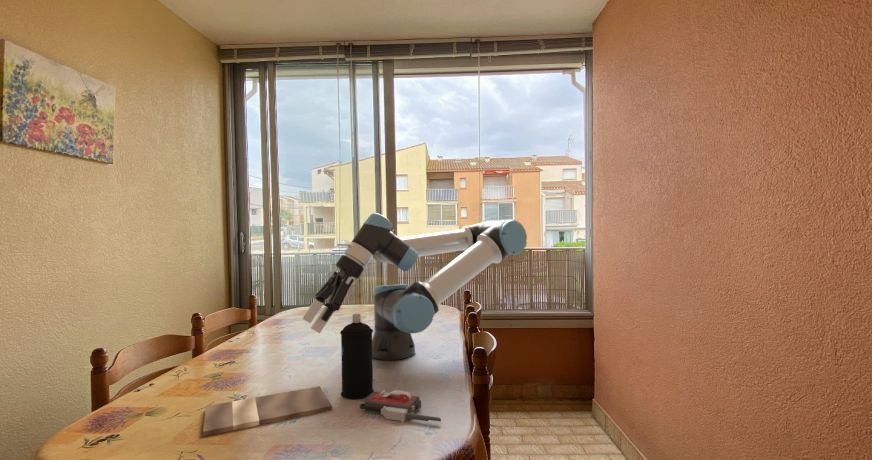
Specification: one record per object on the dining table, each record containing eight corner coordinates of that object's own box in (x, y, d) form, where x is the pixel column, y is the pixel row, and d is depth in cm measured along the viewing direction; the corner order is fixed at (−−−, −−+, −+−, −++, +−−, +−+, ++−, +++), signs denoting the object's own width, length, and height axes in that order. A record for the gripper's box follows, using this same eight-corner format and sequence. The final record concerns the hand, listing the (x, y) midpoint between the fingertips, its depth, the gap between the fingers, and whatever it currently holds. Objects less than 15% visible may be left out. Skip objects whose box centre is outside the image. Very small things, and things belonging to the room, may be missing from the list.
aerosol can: (380, 390, 108) (379, 312, 108) (361, 402, 101) (360, 318, 101) (353, 385, 112) (352, 310, 112) (334, 396, 104) (332, 316, 104)
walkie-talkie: (354, 416, 94) (439, 429, 87) (353, 397, 94) (438, 407, 87) (372, 401, 102) (451, 411, 96) (372, 383, 102) (451, 392, 96)
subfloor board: (319, 389, 109) (319, 386, 109) (332, 410, 97) (332, 405, 97) (205, 410, 97) (205, 406, 97) (203, 436, 85) (202, 431, 85)
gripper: (333, 252, 131) (292, 311, 125) (355, 255, 109) (306, 327, 103) (352, 265, 134) (313, 323, 128) (378, 271, 111) (331, 342, 106)
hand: (310, 325), depth 116 cm, fingers open, 13 cm apart
